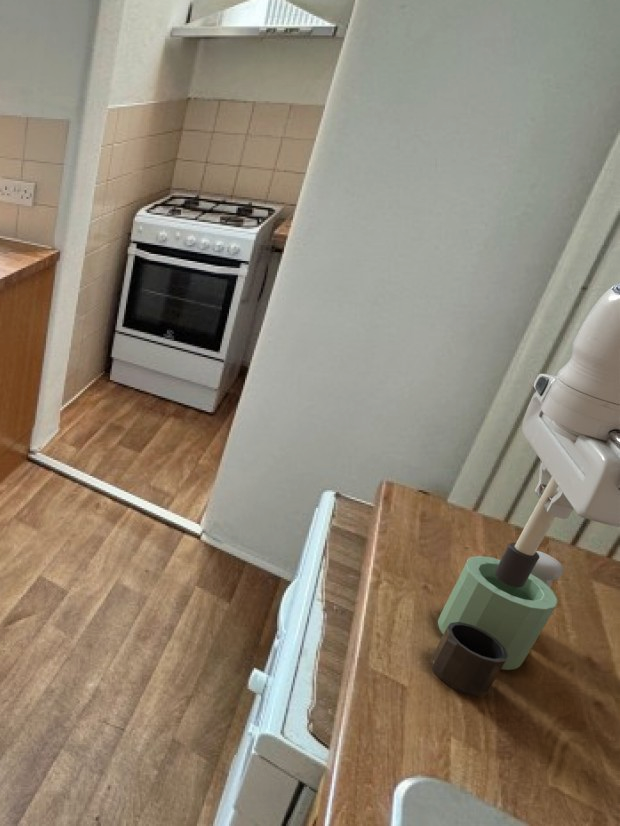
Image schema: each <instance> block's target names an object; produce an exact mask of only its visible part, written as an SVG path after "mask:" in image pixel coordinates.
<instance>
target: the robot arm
mask: <svg viewBox="0 0 620 826" xmlns="http://www.w3.org/2000/svg"><path fill="white" fill-rule="evenodd" d="M533 387H534V390H535V392H534V393H533V395H532V397H531V399H530V401H529V403H528V406H527V408H526V411H525V414H524V416H523V419H522V424H521V425H522V427H521V432H522V434H523V436H524V437H525V439H526V441H527V442H528V443H529V445H530V446H531V448H532V449H533V451H534V452H535V454H536V455H537V457H538V458H539V460H540V461H541V463H540V465H539V474H538V483H537V485H536V487H535V488H534V493H535V494H536V496H537V497H538V499H539V500H540V498H541V496H542V494H543V492H544V490H545V488H546V487H547V485H548V483H549V481H550V479H551V477H553V479H554V480H555V482H556V483H557V485H558V488H557V491H558V493H557V494H556V495H555V496H554V497H550V496H548V498H547V500H546V503H545V504H544V507H545V509H546V511H547V512H548V514H549V515H551V516H554V517H555V518H559V519H562V520H566V519H568V518H570V516H571V514H572V512H573V511H575V513H576V514H577V515H578V516H579V517H581V518H584V519H587V520H589V521H593V522H597V523H599V524H604V525H607V526H610V527H611V526H612V527H615V528H620V282H618V283H615V284H614V285H613V286H612V287H610V288H608V290H607V291H605V292H604V293H603V294H602V295H601V296H600V297H599V299H598V300H597V301H596V302H595V304H594V305H593V307H592V308H591V310H590V311H589V313H588V314H587V316H586V317H585V319H584V321H583V323H582V324H581V327H580V328H579V330H578V332H577V333H576V336H575V338H574V340H573V342H572V354H571V357H570V358H569V360H568V362H566V364H565V365H564V366H563V367H561V368H560V369H559V371H558V372H557V374H556V375H553V374H547V373H539V374H538V375H537V376H536V378H535V380H534V383H533Z"/></svg>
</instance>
